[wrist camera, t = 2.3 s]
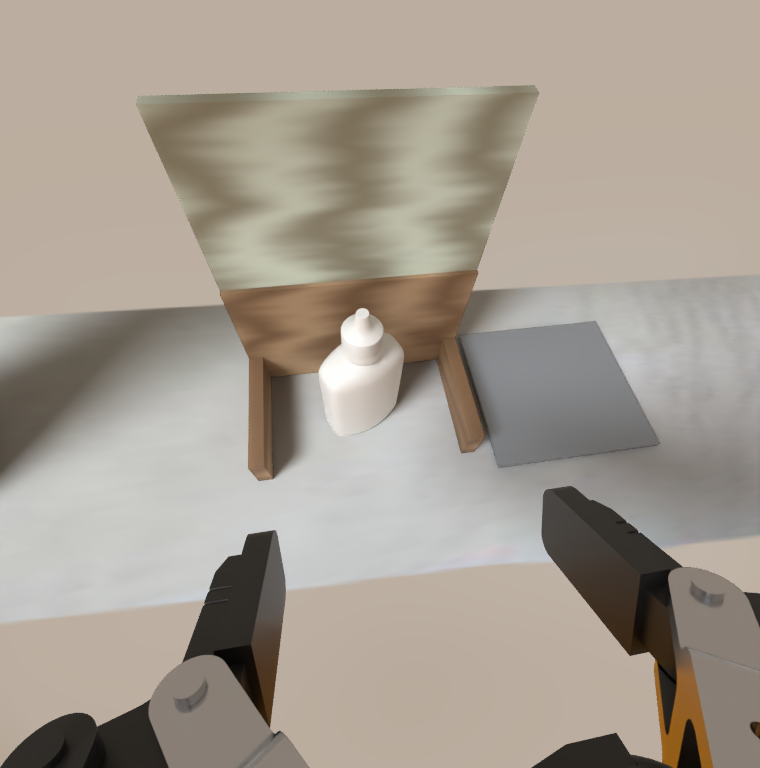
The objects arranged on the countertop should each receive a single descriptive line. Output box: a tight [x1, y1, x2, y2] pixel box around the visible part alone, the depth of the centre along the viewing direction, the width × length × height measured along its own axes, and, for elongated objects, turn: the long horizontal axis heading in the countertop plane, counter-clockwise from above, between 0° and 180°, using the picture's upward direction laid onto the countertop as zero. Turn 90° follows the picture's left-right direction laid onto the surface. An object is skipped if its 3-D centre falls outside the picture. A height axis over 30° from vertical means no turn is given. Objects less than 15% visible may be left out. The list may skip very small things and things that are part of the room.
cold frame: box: [136, 85, 539, 481], centre depth 22 cm, size 16×10×20 cm, turn 99°
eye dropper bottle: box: [318, 308, 404, 436], centre depth 26 cm, size 4×6×12 cm
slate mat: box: [459, 321, 660, 468], centre depth 32 cm, size 13×12×1 cm
